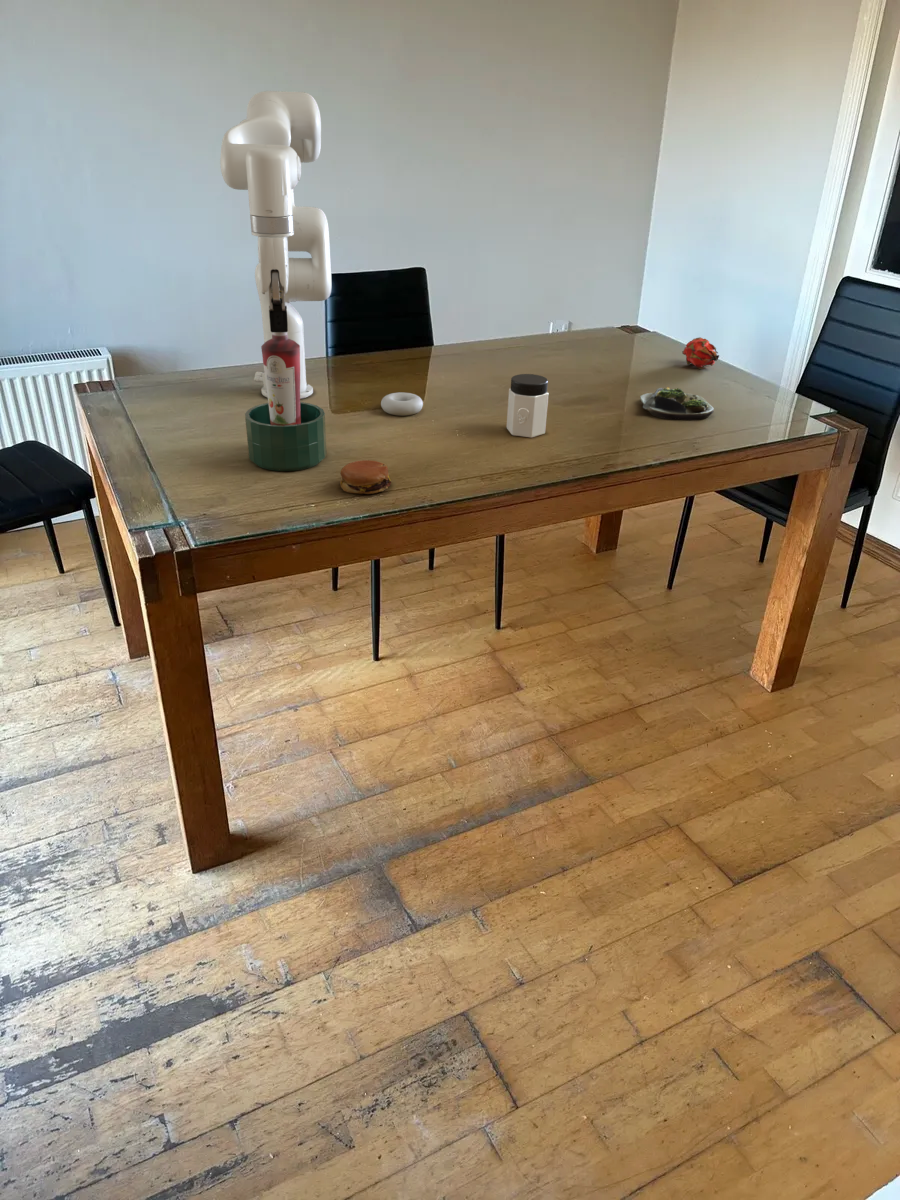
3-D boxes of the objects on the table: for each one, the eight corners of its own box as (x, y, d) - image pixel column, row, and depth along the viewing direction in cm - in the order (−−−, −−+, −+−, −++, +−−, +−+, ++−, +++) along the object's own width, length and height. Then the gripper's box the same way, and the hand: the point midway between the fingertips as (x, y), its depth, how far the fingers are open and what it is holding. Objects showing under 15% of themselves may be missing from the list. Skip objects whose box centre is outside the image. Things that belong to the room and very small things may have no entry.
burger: (331, 483, 168) (330, 461, 166) (373, 474, 173) (372, 452, 171) (357, 502, 162) (356, 478, 159) (399, 491, 166) (399, 468, 164)
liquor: (263, 444, 175) (251, 299, 160) (275, 432, 181) (265, 291, 167) (298, 447, 174) (289, 302, 159) (309, 435, 180) (302, 294, 166)
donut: (376, 415, 204) (417, 419, 202) (375, 401, 202) (417, 404, 201) (387, 403, 213) (427, 406, 211) (386, 389, 211) (427, 392, 209)
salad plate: (627, 394, 224) (630, 376, 221) (696, 396, 225) (699, 378, 222) (644, 419, 207) (647, 400, 205) (718, 421, 208) (722, 402, 206)
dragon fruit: (684, 365, 256) (710, 382, 247) (670, 350, 250) (696, 367, 242) (704, 341, 253) (731, 357, 245) (690, 326, 248) (717, 342, 239)
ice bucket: (234, 464, 175) (229, 419, 170) (274, 440, 188) (271, 397, 183) (302, 477, 171) (300, 431, 166) (339, 451, 183) (337, 407, 178)
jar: (501, 434, 195) (505, 381, 189) (510, 423, 202) (514, 371, 196) (541, 439, 193) (545, 386, 187) (548, 428, 200) (553, 376, 194)
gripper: (252, 219, 163) (260, 319, 172) (249, 232, 149) (258, 340, 159) (293, 219, 164) (298, 319, 174) (293, 232, 150) (299, 340, 160)
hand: (279, 328), depth 166 cm, fingers closed on liquor, 2 cm apart
